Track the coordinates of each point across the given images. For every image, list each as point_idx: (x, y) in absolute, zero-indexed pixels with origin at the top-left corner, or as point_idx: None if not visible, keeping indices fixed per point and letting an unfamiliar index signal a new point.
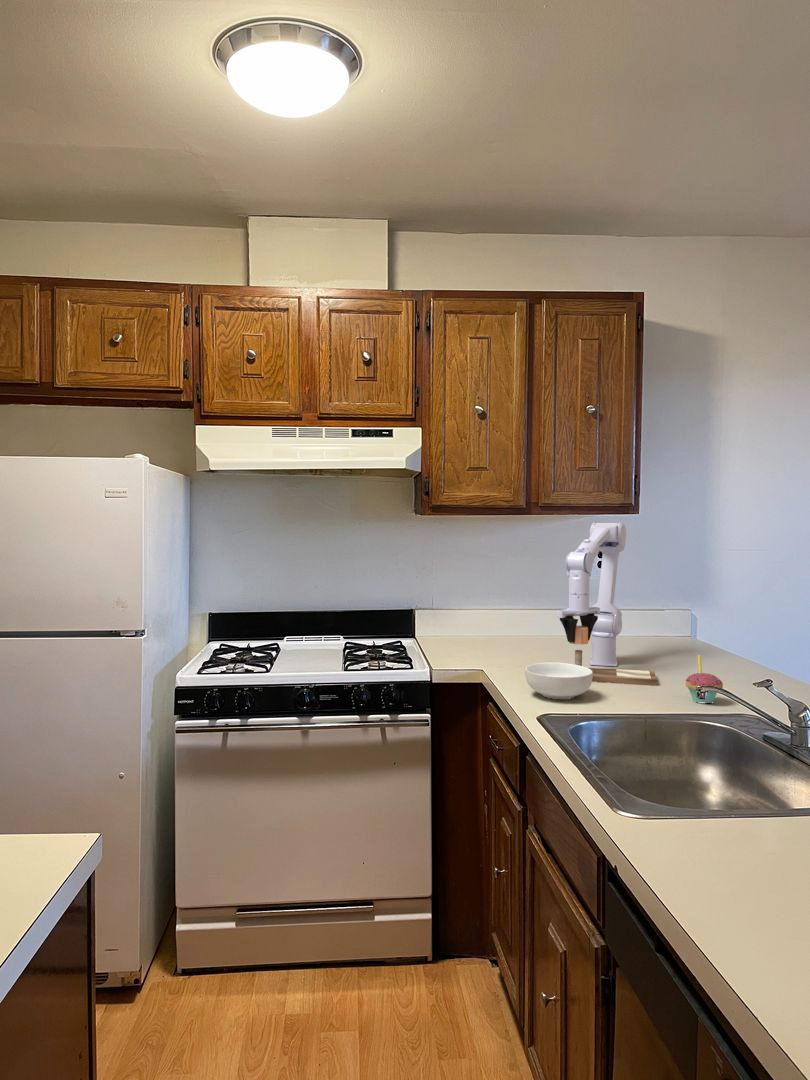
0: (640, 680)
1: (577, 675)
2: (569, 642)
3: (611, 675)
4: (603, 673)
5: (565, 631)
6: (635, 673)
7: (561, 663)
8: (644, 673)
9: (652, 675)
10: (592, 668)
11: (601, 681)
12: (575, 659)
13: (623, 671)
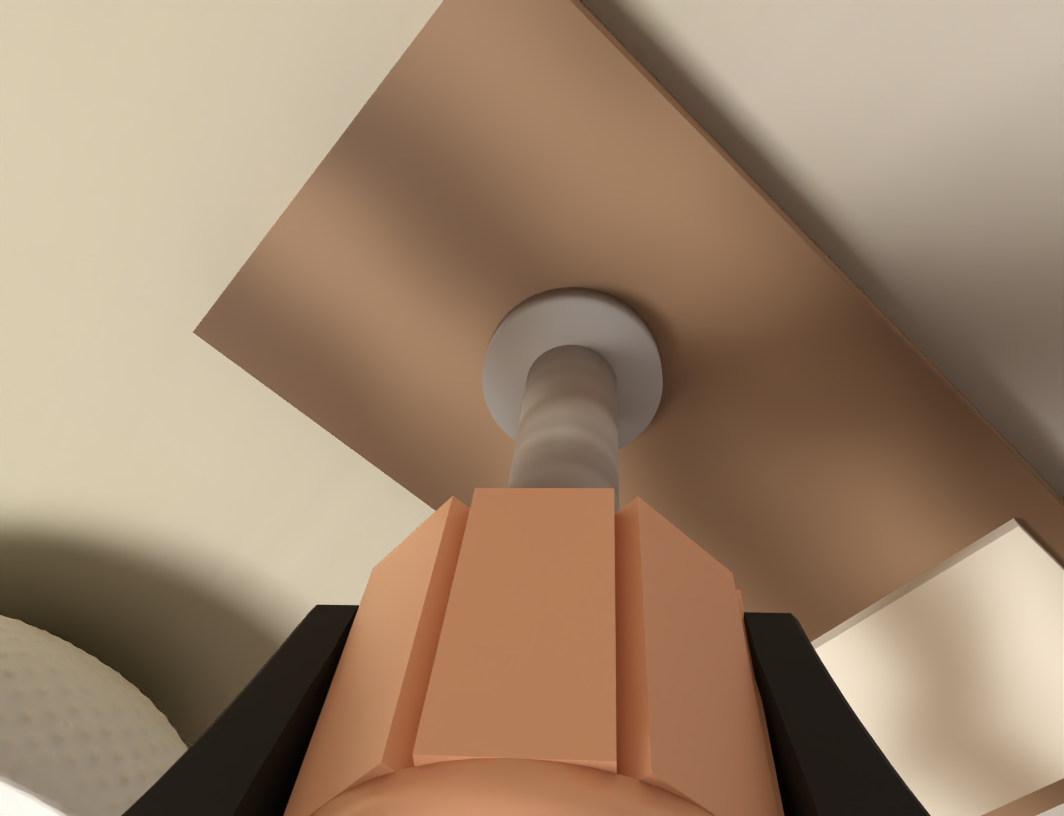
0: None
1: None
2: (376, 576)
3: None
4: (742, 557)
5: (175, 769)
6: (977, 716)
7: (1, 780)
8: (1048, 748)
9: (1062, 783)
10: (857, 334)
11: None
12: (515, 445)
13: (964, 626)
